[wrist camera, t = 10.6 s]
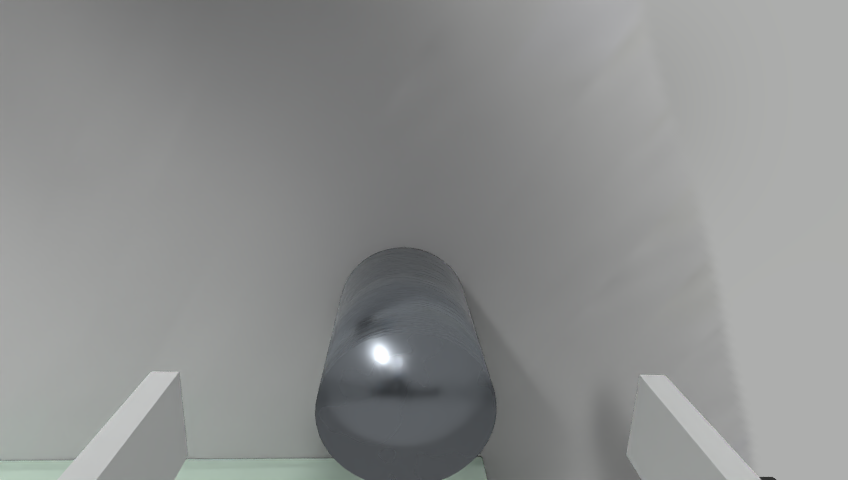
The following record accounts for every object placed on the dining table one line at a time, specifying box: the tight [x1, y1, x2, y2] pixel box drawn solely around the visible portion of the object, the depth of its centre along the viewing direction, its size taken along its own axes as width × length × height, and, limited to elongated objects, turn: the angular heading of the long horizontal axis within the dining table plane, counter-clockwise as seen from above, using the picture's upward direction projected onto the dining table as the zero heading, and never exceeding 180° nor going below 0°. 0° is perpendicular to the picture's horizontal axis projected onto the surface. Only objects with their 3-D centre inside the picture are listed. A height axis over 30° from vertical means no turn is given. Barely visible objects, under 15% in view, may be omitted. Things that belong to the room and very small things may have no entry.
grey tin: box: [315, 248, 496, 480], centre depth 18 cm, size 5×5×7 cm
